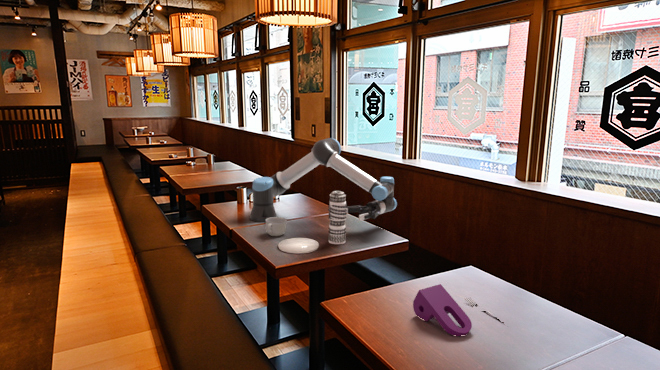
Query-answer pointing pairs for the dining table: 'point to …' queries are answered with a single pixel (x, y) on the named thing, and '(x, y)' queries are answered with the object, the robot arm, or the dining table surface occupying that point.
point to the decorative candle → (337, 217)
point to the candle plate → (298, 245)
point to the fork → (473, 303)
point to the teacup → (275, 226)
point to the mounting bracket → (441, 310)
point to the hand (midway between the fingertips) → (348, 215)
